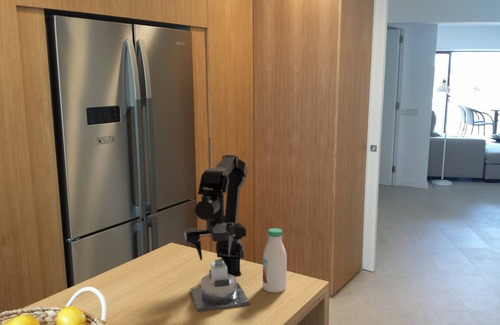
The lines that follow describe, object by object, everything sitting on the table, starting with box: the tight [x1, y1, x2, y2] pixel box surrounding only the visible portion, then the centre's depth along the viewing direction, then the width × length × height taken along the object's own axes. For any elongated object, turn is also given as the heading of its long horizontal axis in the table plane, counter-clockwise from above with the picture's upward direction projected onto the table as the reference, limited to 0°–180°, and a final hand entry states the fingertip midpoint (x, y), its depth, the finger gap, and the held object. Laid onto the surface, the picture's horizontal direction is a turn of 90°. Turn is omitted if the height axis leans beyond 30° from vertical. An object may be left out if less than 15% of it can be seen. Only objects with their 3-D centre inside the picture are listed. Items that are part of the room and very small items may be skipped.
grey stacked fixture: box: [190, 269, 251, 313], centre depth 144 cm, size 16×14×8 cm
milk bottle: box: [262, 227, 288, 294], centre depth 150 cm, size 8×8×20 cm
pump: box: [210, 258, 227, 284], centre depth 143 cm, size 4×6×6 cm, turn 16°
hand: (215, 258), depth 145 cm, fingers open, 9 cm apart
